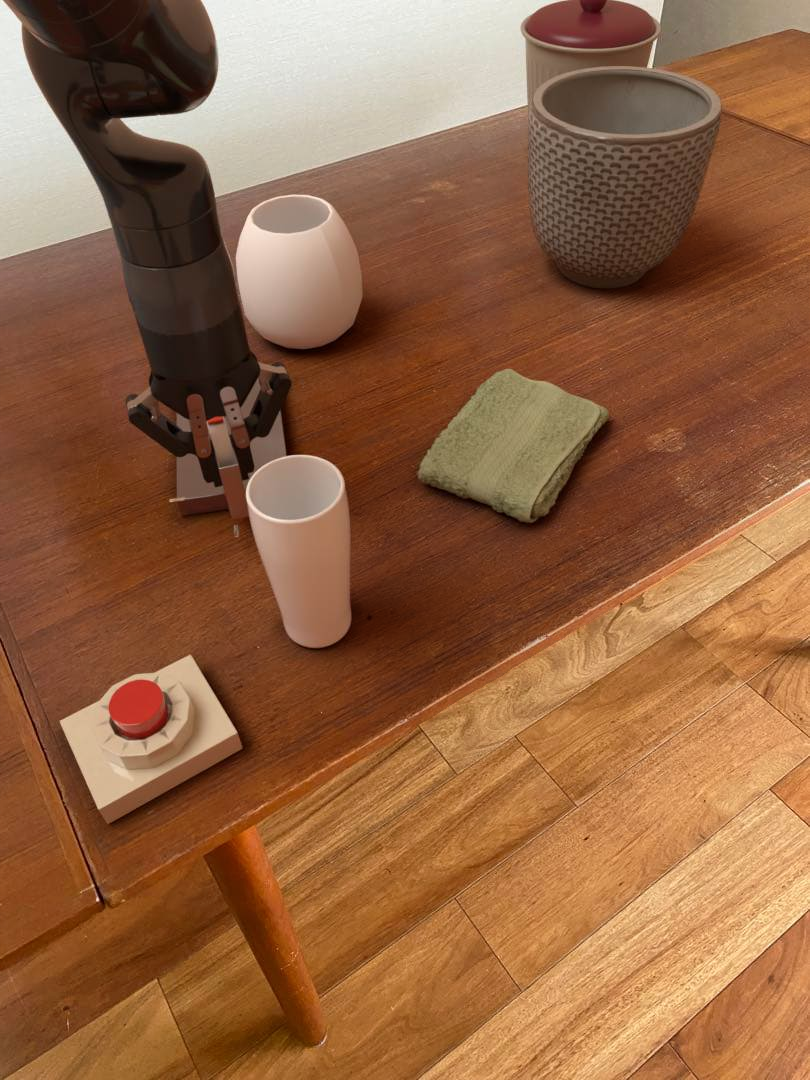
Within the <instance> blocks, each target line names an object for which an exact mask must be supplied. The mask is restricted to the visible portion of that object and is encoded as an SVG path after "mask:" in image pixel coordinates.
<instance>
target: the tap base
mask: <svg viewBox="0 0 810 1080" xmlns="http://www.w3.org/2000/svg"><path fill="white" fill-rule="evenodd" d="M260 389H261V387H260V385H259V379H257V381H256V382H255V384H254V386H253V388H252V390H251V391H250V393H249V395H248V397H247V399H246V400H245V402H244V404H243V405H242V407H241V408H240V409H241V412H242V416H243V419H244V418H246V417H248V416H249V415H250V412H251V409H252V407H253V405H254V403H255V400H256V398H257V396H258V394H259V391H260ZM175 413H176V412H175ZM175 417H176V422H175V424H176V425H177V426H178V427H179V428H181V429H182V430H183V431H185V432H191V429H190V424H189V420H188V419H186V418H184V417H182V416H181V415H179V414H178V413H176V415H175ZM224 418H225V422H226V425H227V428H228V431H229V435H230V434H231V430H230V429H231V428H230V425H229V422H228V419H227V416H226V417H224ZM285 435H286V434H285V429H284V421H283V414H282V408H281V409H280V411H279V414H278V416H277V418H276V420H275V422H274V424H273V427H272V429H271V431H270V433H269V435H268V436H266V437H264V438H260V437H256V438H254V439H253V440H252V441H251V443H250V448H251V453H252V457H253V462H254V466H255V468H254V471H253V472H251V473H248V476H249V479H248V480H244V481H243V485H244V490H245V494H246V488H247V484H248V482H249V480H250V478H251V477H252V476H253V474H254V473H255V472H256V471H257V470H258V469H260V468H261V467H262V466H264V465H265V464H267V463H269V462H271V461H273V460H275V459H278V458H281V457H285V456H288V449H287V443H286V442H287V441H286V436H285ZM209 439H210V437H209ZM168 500H169V501H168V502H169V504H173V503H174V504H175V503H177V506H178V510H179V512H180V513H179V514H180V515H181V517H186V516H193V515H201V514H206V513H207V514H208V513H213V512H220V511H227V510H228V511H229V507H228V504H227V500H226V497H225V493H224V489H223V486H220V487H216V488H215V486H214V482H211V483H207V482H206V481H205V480H204V478H203V474H202V471H201V467H200V463H199V460H198V457H197V456H196V455H194V454H187V455H185V456H184V457H176V497H175V498H174V497H173V498H169V499H168ZM233 533H234V534H233V535H234V539H238V538H240V530H239V524H234V525H233Z"/></svg>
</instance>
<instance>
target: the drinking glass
mask: <svg viewBox="0 0 810 1080" xmlns="http://www.w3.org/2000/svg"><path fill="white" fill-rule="evenodd" d="M246 500H247V506H248V513H249V516H248V518H249V523H250V527H251V532H252V535H253V539H254V542H255V545H256V548H257V551H258V554H259V557H260V560H261V563H262V565H263V568H264V571H265V573H266V575H267V578H268V581H269V584H270V587H271V589H272V592H273V595H274V597H275V601H276V603H277V606H278V609H279V612H280V616H281V619H282V624H283V627H284V630H285V632H286V634H287V636H288V637H289V638H290V640H292V641H293V642H294V643H296V644H298V645H300V646H301V647H305V648H309V649H321V648H327V647H330V646H332V645H335V644H336V643H337V642H339V641H340V640H341V639H342V638H343V637H345V635H346V634H347V633H348V631H349V629H350V627H351V625H352V618H353V617H352V607H351V534H352V533H351V532H352V531H351V516H350V506H349V499H348V493H347V488H346V483H345V478H344V476H343V473H342V472H341V470H340V469H339V468H338V467H337V466H336V465H335V464H334V463H332V462H330V461H329V460H327V459H324V458H322V457H319V456H315V455H309V454H292V455H287V456H285V457H281V458H278V459H275V460H273V461H271V462H269V463H267V464H265V465H264V466H262V467H261V468H260V469H258V470H257V471H256V472H255V473H254V474H253V476H252V477H251V478H250V480H249V482H248V484H247V488H246Z"/></svg>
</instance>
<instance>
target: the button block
mask: <svg viewBox="0 0 810 1080" xmlns="http://www.w3.org/2000/svg"><path fill="white" fill-rule="evenodd" d="M134 680H149V681H152V682H154V683H156V684H157V685H158V686H159V687H160V688H161V690H162V693H163V695H164V697H165V699H166V702H167V704H168V707H169V714H168V718H167V720H166V722H165V724H164V725H163V726H162V727H161V729H159V730H158V731H157V732H156V733H154V734H153V735H150V736H148V737H145V738H140V739H132V738H128V737H125V736H124V735H122V734H121V733H120V732H119V731H118V729H117V728H116V726H115V724H114V722H113V720H112V718H111V716H110V714H109V702H110V699H111V697H112V695H113V694H114V693H115V691H116V690H117V689H119V688H120V687H121V686H122V685H124V684H126V683H128V682H131V681H134ZM59 724H60V726H61V728H62V730H63V733H64V735H65V737H66V740H67V742H68V744H69V746H70V749H71V751H72V754H73V755H74V758H75V760H76V762H77V765H78V767H79V769H80V772H81V774H82V776H83V779H84V781H85V783H86V786H87V787H88V790H89V792H90V794H91V796H92V799H93V802H94V803H95V806H96V808H97V810H98V812H99V813H100V815H101V816H102V818H103V820H104V821H105V822H106V825H109V824H111V823H113V822H115V821H117V820H119V819H120V818H121V817H124V816H125V815H127V814H129V813H131V812H133V811H135V810H137V808H140V807H141V806H144V805H145V804H147V803H148V802H150V801H152V800H154V799H156V798H157V797H159V796H161V795H163V794H165V793H166V792H168V791H170V790H171V789H174V788H175V787H177V786H179V785H180V784H182V783H184V782H186V781H188V780H190V779H191V778H193V777H195V776H197V775H198V774H200V773H202V772H204V771H205V770H207V769H209V768H211V767H213V766H214V765H216V764H217V763H219V762H221V761H223V760H225V759H227V758H228V757H230V756H232V755H234V754H236V753H238V752H239V751H241V750H243V744H242V741H241V739H240V735H239V733H238V731H237V729H236V727H235V726H234V724H233V722H232V720H231V719H230V717H229V716H228V713H227V712H226V711H225V709H224V707H223V706H222V704H221V702H220V701H219V699H218V697H217V695H216V694H215V692H214V690H213V689H212V687H211V686H210V684H209V682H208V681H207V679H206V677H205V676H204V674H203V672H202V671H201V669H200V667H199V666H198V664H197V662H196V660H195V659H194V657H193V655H192V654H187V655H186V656H184V657H182V658H180V659H178V660H177V661H175V662H172V663H170V664H169V665H167V666H164V667H162V668H161V669H159V670H156V671H155V672H149V673H148V672H145V673H136V674H135V673H134V674H132V675H131V676H129V677H126V678H124V679H123V680H121V681H118V682H117V683H115V684H112V685H111V686H110V687H109V689H108V690H107V691H106V692H105V693H104V695H103V696H102V697H101V698H100V699H99V700H97V701H96V702H94V703H92V704H90V705H88V706H86V707H84V708H82V709H80V710H77V711H76V712H74V713H72V714H70V715H68V716H66V717H64V718H63V719H61V720H59Z"/></svg>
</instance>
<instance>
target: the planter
mask: <svg viewBox="0 0 810 1080" xmlns="http://www.w3.org/2000/svg"><path fill="white" fill-rule="evenodd" d="M722 112H723V104H722V100H721V98H720V97H719V95H718V94H717V93H716V92H715V90H713V89H712V88H711V87H709V86H708V85H706V84H705V83H703V82H702V81H699V80H697V79H695V78H693V77H690V76H687V75H684V74H682V73H677V72H674V71H669V70H665V69H658V68H652V67H647V68H645V67H633V66H606V67H594V68H586V69H580V70H575V71H571V72H567V73H564V74H561V75H558V76H555V77H553V78H551V79H549V80H547V81H546V82H544V83H543V84H541V85H540V86H539V87H538V88H537V89H536V90H535V91H534V93H533V96H532V98H531V103H530V109H529V119H528V126H527V127H528V128H527V129H528V131H527V134H528V135H527V136H528V137H527V142H528V144H527V148H528V149H527V187H528V188H527V189H528V207H529V217H530V218H529V219H530V223H531V227H532V230H533V234H534V237H535V239H536V241H537V243H538V244H539V247H540V248H541V250H542V251H543V252H544V253H545V254H546V256H547V257H548V258H550V260H551V261H552V262H553V263H554V264H555V265H556V267H557V269H558V270H559V272H560V273H561V274H562V275H563V276H564V277H565V278H567V279H568V280H569V281H571V282H573V283H576V284H578V285H580V286H584V287H588V288H592V289H604V290H606V289H618V288H619V289H620V288H623V287H626V286H630V285H631V284H634V283H635V282H637V281H639V280H640V279H641V278H642V277H643V276H644V275H645V274H646V273H647V272H648V271H650V270H651V269H654V268H656V267H657V266H658V265H659V264H661V263H662V262H664V261H665V260H666V259H667V258H668V257H669V256H670V255H671V254H672V253H673V252H674V251H675V250H676V249H677V247H678V246H679V245H680V243H681V241H682V239H683V238H684V235H686V232H687V230H688V228H689V225H690V223H691V222H692V221H691V220H692V218H693V215H694V212H695V210H696V207H697V204H698V201H699V198H700V195H701V192H702V190H703V186H704V183H705V179H706V176H707V172H708V169H709V166H710V162H711V159H712V155H713V151H714V149H715V145H716V142H717V138H718V136H719V135H718V134H719V131H720V128H721V121H722Z"/></svg>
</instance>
